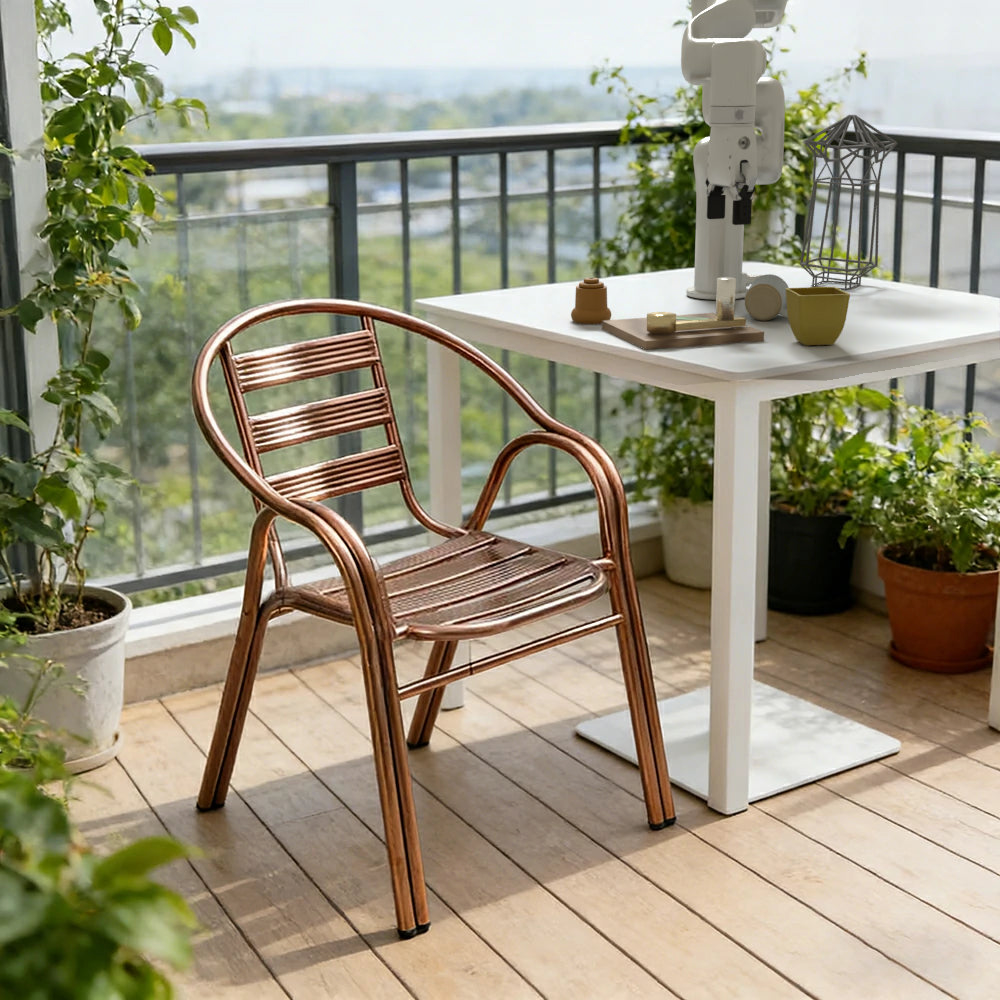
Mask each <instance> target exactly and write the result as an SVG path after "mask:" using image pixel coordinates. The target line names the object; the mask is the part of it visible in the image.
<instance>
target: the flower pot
mask: <svg viewBox="0 0 1000 1000" xmlns="http://www.w3.org/2000/svg"><path fill="white" fill-rule="evenodd" d="M838 288H839V287H836V286H823V287H811V286H810V287H809V286H808V287H806V286H805V287H789V288H786V300H787V313H788V318H787V319H788V323H789V327H790V329H791V331H792V333H793V335H794V338H795V340H796V341H797V342H799V343H800V344H802V345H804V346H806V347H807V346H808V347H810V346H825V345H826V346H831V345H834V344H835V343H836V342H837V340H838V339H839V337H840V336H841V334H842V332H843V329H844V328H845V324H846V320H847V317H848V316H847V315H848V309H849V304H850V297H851V294H850V293H849V292H847V291H845V290H840V289H838Z"/></svg>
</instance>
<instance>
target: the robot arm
mask: <svg viewBox="0 0 1000 1000" xmlns="http://www.w3.org/2000/svg"><path fill="white" fill-rule="evenodd" d="M787 3H788V0H690V7H691V8H690V9H691V18H692V19H691V20H690V21H689V22H688V23H687V25H686V27H685V29H684V31H683V35H682V39H681V48H680V49H681V50H680V51H681V55H680V67H681V74H682V76H683V78H684V80H685V81H686V82H687V83H688V84H691V85H694V86H702V90H701V91H702V93H701V94H702V95H701V96H702V98H701V99H702V100H701V104H702V105H701V106H702V107H701V108H702V109H701V110H702V117H703V120H704V122H705V124H706V125H708V126H709V128H710V132H709V136H706V137H704V138H701V139H700V140H699V141H698V142H697V143H696V144H695V146H694V149H693V158H692V161H693V169H694V170H693V171H694V178H695V179H694V180H695V191H696V193H695V194H696V196H695V197H696V200H695V201H696V210H695V212H696V214H695V243H694V245H695V246H694V247H695V249H694V277H693V278H694V281H693V284H694V285H693V286H690V287H688V288H687V289H686V290H685V291H686V296H688V297H690V298H695V299H700V300H714V301H715V300H716V297H717V278H723V277H729V278H735V279H736V290H735V300H737V299H745V295H746V293H747V291H748V289H749V288H750V286H751V285H752V283H753V282H754V281H755V280H756V279H757V278H759V277H760V276H763V275H764V274H755V275H752V274H748V273H747V272H744V271H743V261H744V260H743V259H744V258H743V257H744V256H743V255H744V232H745V231H744V230H745V226H746V225H751V223H752V203H753V200H754V193H755V190H756V185H758V186H759V185H760V186H761V185H771V184H775V183H776V182H777V181H779V179H780V178H781V176H782V174H783V167H784V154H785V153H784V148H785V147H784V145H785V121H786V120H785V113H786V106H785V105H786V100H785V98H786V97H785V91H784V88H783V85H782V83H781V82H780V80H778V79H776V78H774V77H766V76H765V77H763V75H764V74H765V73H766V70H767V64H768V63H767V62H768V59H767V58H768V57H767V50H766V49H765V47H764V46H763V44H762V43H761V42H760V41H759V40H758V39H755V38H746V37H747V36H748V35H749V34H750V33H751V31H752V30H753V29H770V28H771V29H772V28H776V27H777V26H778V25H779V24H781V22H782V20H783V17H784V14H785V10H786V7H787ZM756 129H758V130H759V131H760V133H761V134H759V135H758V134H756ZM747 287H748V288H747Z"/></svg>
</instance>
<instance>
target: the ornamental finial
mask: <svg viewBox="0 0 1000 1000" xmlns="http://www.w3.org/2000/svg"><path fill="white" fill-rule="evenodd" d="M574 299H575V301H574V303H575V304H574V308H572V310H571V313H570V318H571V320H572V321H573V322H574V323H575V322H576V324H579V323H580V325H602V321H606V320H612V319H611V318H612V311H611V309H610V308H609V307H608V287H607V285H605V284H604V282H602V281H600V279H599V278H598V277H585V278H583V281H580V282H579V283H578V285H577V286H575V298H574Z"/></svg>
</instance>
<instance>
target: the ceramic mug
mask: <svg viewBox="0 0 1000 1000" xmlns="http://www.w3.org/2000/svg"><path fill="white" fill-rule="evenodd" d="M762 275H763V276H760V277H759V278H757V279H756V280H755V281H754V282H753V283H752V284H751V285H750V286H749V287H748V288H747V289H748V291H747V293H746V295H745V297H744V299H743V300H744V307H745V310H746V312H747V314H748V315H750V317H751V318H753V319H755V320H757V321H759V322H760V321H761V322H762V321H765V322H766V321H771V320H773V319H775V318H776V317H778V316H779V315H780V316H782V317H783V318H785V319H788V313H787V300H786V288H790V287H789V285H788V284H787V282H786V281H785V280H784V279H783V278H782V277H780V276H778V275H775V274H770V273H769V274H762Z"/></svg>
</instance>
